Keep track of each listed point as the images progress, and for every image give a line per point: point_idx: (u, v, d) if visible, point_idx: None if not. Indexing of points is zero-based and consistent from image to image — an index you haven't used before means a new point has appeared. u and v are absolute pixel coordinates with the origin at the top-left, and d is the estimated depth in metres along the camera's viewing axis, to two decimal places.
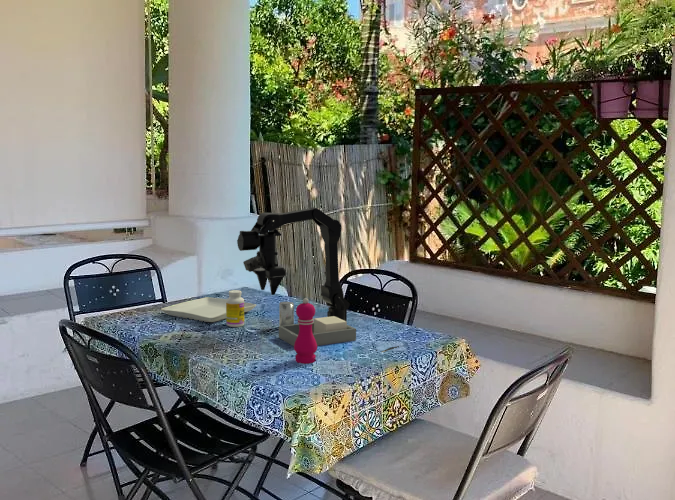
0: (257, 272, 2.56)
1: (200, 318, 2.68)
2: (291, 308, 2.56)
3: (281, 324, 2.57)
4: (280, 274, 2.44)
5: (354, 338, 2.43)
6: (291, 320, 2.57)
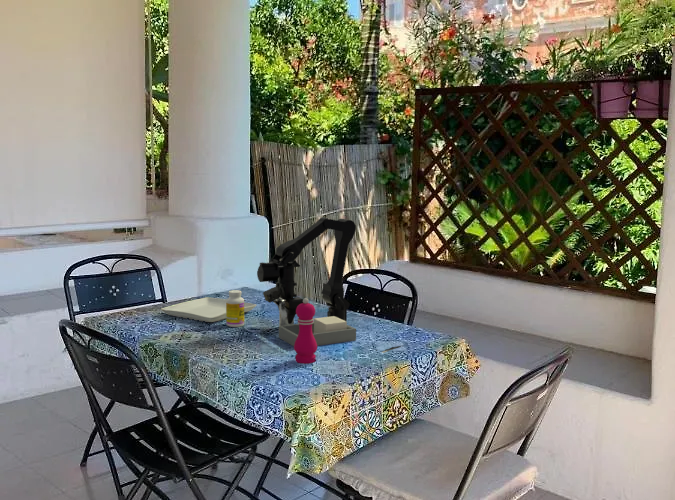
0: (278, 303, 2.60)
1: (200, 318, 2.68)
2: None
3: (281, 324, 2.57)
4: None
5: (354, 338, 2.43)
6: None
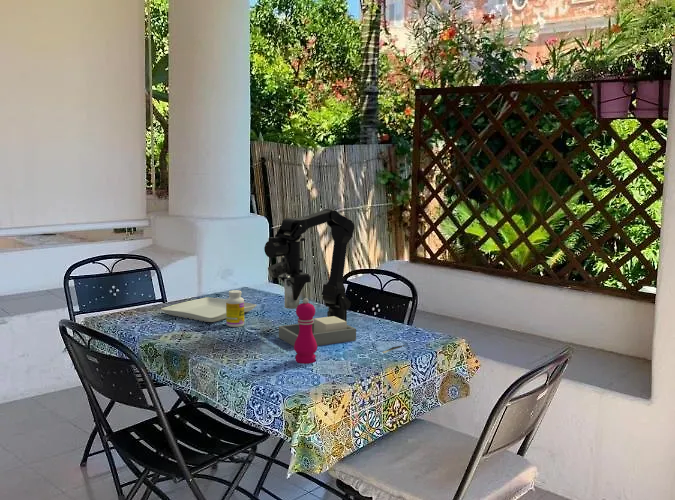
0: (283, 279, 2.52)
1: (200, 318, 2.68)
2: None
3: (286, 301, 2.49)
4: (305, 280, 2.42)
5: (354, 338, 2.43)
6: None
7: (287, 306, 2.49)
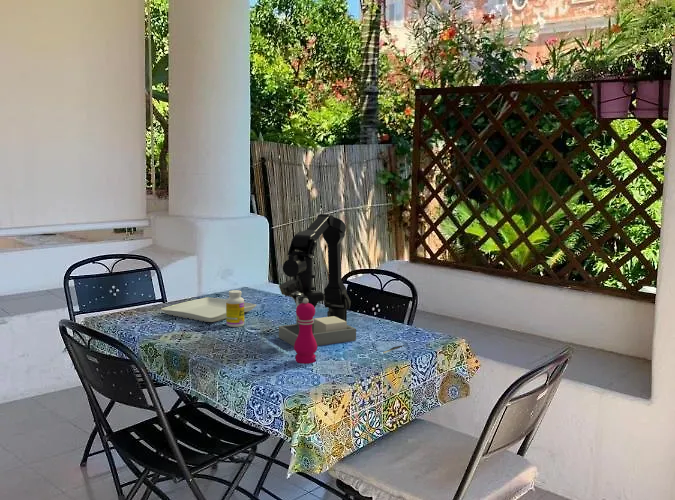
0: (295, 297, 2.42)
1: (200, 318, 2.68)
2: None
3: None
4: (318, 299, 2.32)
5: (354, 338, 2.43)
6: None
7: None
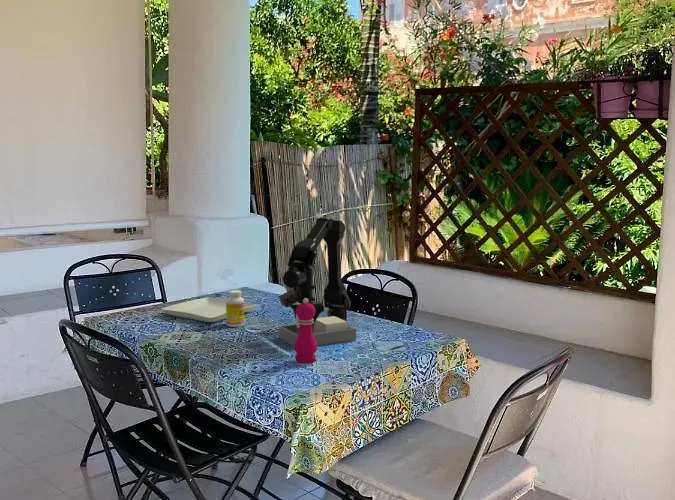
0: (293, 306, 2.43)
1: (200, 318, 2.68)
2: None
3: None
4: (318, 310, 2.32)
5: (354, 338, 2.43)
6: None
7: None
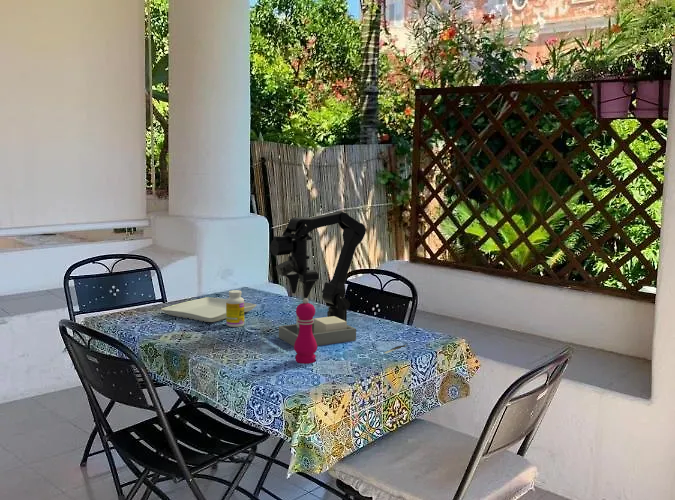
0: (288, 276, 2.60)
1: (200, 318, 2.68)
2: None
3: None
4: (313, 278, 2.48)
5: (354, 338, 2.43)
6: None
7: None
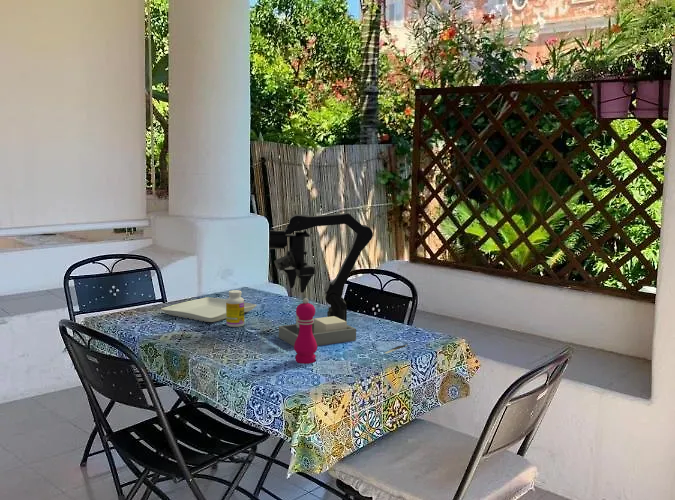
0: (286, 271, 2.68)
1: (200, 318, 2.68)
2: None
3: None
4: (310, 273, 2.57)
5: (354, 338, 2.43)
6: None
7: None
